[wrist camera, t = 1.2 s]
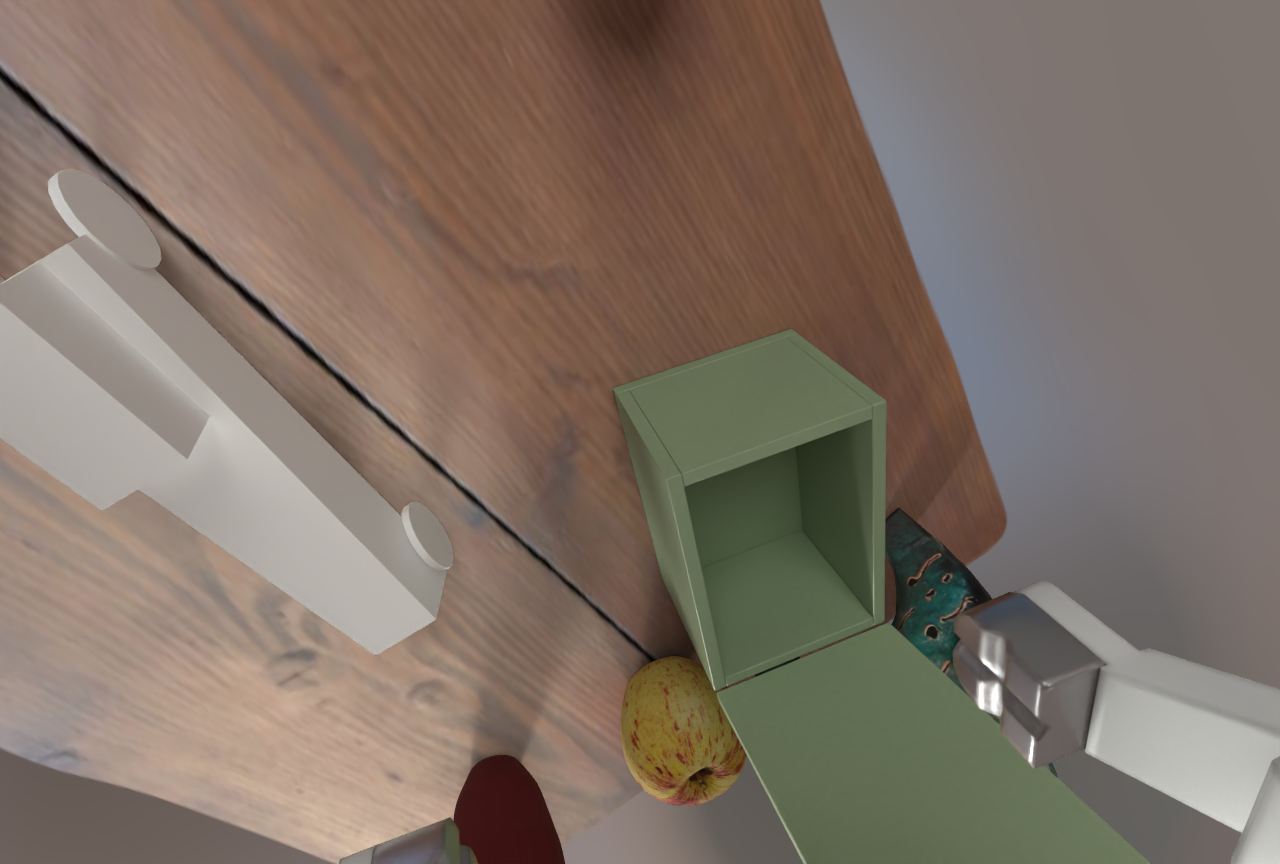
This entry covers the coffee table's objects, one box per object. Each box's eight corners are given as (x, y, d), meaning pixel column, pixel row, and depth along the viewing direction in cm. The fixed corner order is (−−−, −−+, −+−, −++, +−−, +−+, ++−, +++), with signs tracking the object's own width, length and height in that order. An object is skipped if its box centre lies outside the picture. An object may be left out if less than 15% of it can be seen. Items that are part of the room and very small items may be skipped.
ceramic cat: (908, 484, 50) (1150, 700, 34) (945, 520, 54) (1180, 732, 37) (726, 654, 54) (865, 922, 38) (772, 677, 58) (917, 933, 41)
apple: (609, 725, 54) (645, 848, 46) (599, 651, 50) (637, 774, 41) (712, 694, 56) (764, 806, 48) (712, 620, 52) (770, 731, 43)
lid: (883, 1008, 23) (903, 1092, 25) (1159, 870, 25) (1161, 958, 26) (716, 692, 39) (734, 755, 41) (888, 621, 41) (900, 685, 43)
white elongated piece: (-55, 245, 27) (-239, 327, 19) (95, 154, 27) (-28, 200, 19) (359, 595, 41) (348, 722, 33) (457, 536, 41) (469, 650, 33)
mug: (462, 830, 56) (472, 968, 47) (394, 797, 51) (391, 943, 43) (564, 761, 55) (591, 889, 47) (503, 722, 50) (522, 855, 42)
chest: (612, 387, 39) (665, 479, 31) (791, 327, 40) (887, 400, 32) (663, 581, 48) (714, 691, 40) (807, 526, 50) (885, 621, 41)
